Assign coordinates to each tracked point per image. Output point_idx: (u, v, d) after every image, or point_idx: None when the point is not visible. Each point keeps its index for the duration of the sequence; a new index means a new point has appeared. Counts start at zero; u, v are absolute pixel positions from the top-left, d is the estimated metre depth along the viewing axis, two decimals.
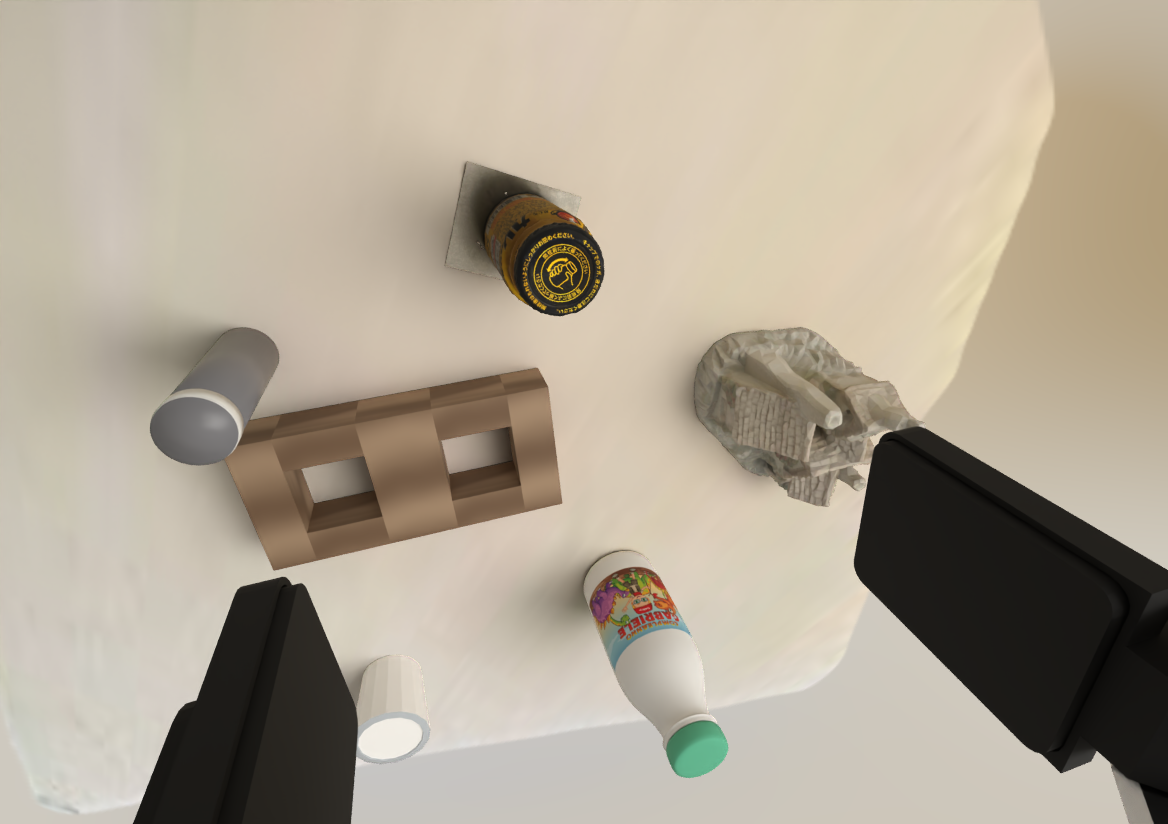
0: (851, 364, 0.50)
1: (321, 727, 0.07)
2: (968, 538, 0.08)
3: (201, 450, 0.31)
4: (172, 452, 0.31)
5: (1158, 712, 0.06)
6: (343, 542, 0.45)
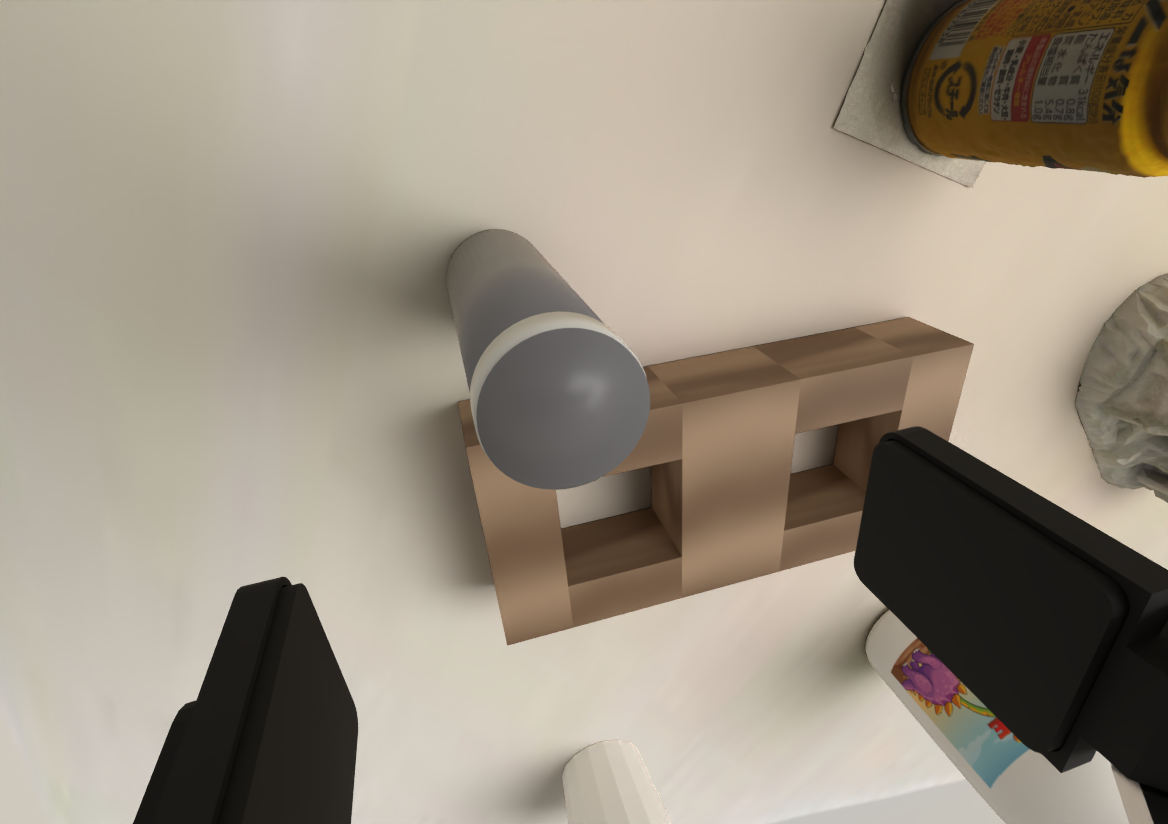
0: None
1: (321, 727, 0.07)
2: (968, 538, 0.08)
3: (568, 456, 0.14)
4: (510, 461, 0.13)
5: (1158, 711, 0.06)
6: (616, 598, 0.28)
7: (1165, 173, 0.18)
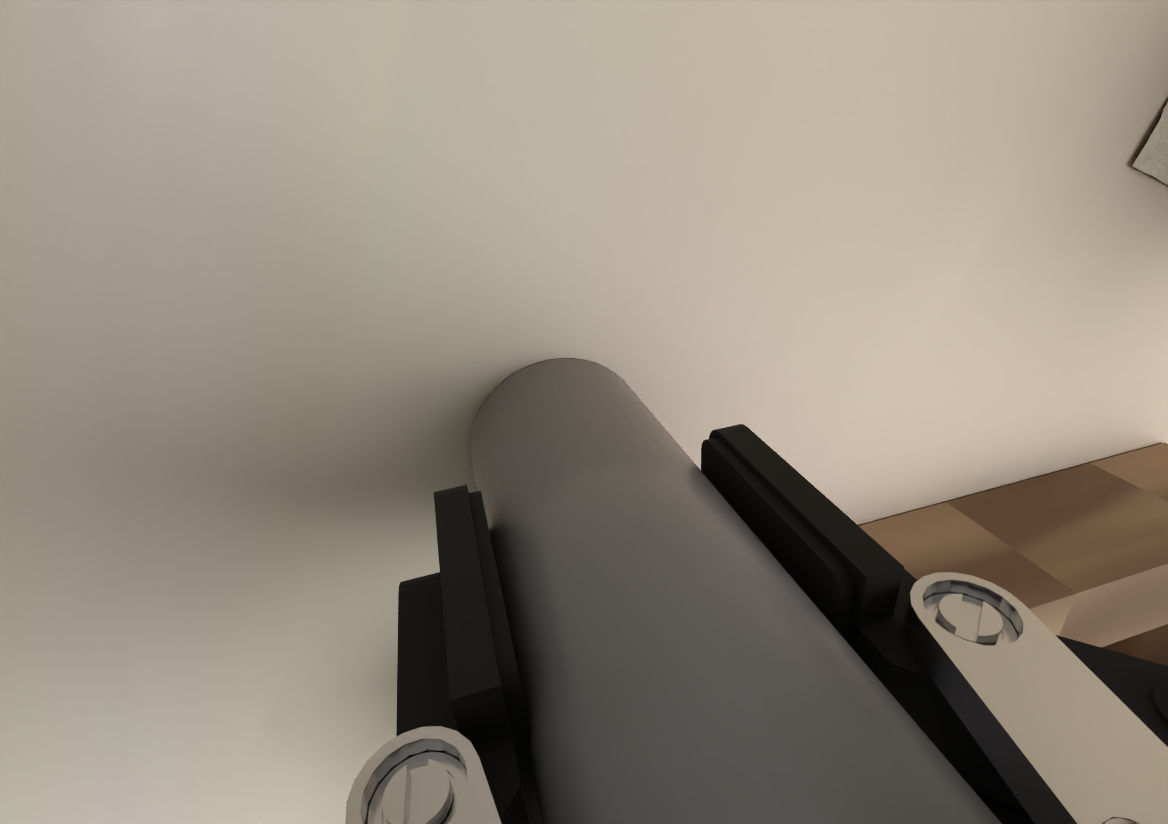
0: None
1: None
2: (759, 528, 0.09)
3: None
4: None
5: None
6: None
7: None
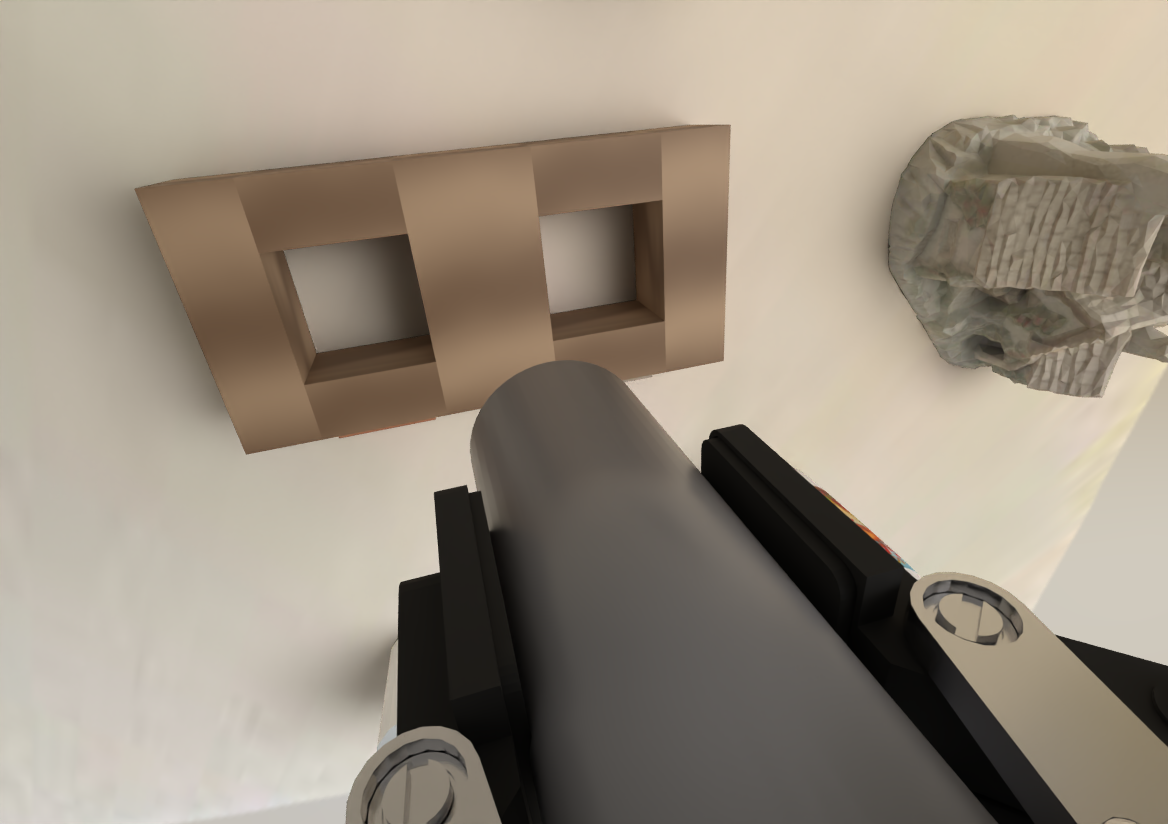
0: None
1: None
2: (759, 529, 0.09)
3: None
4: None
5: None
6: (367, 407, 0.26)
7: None
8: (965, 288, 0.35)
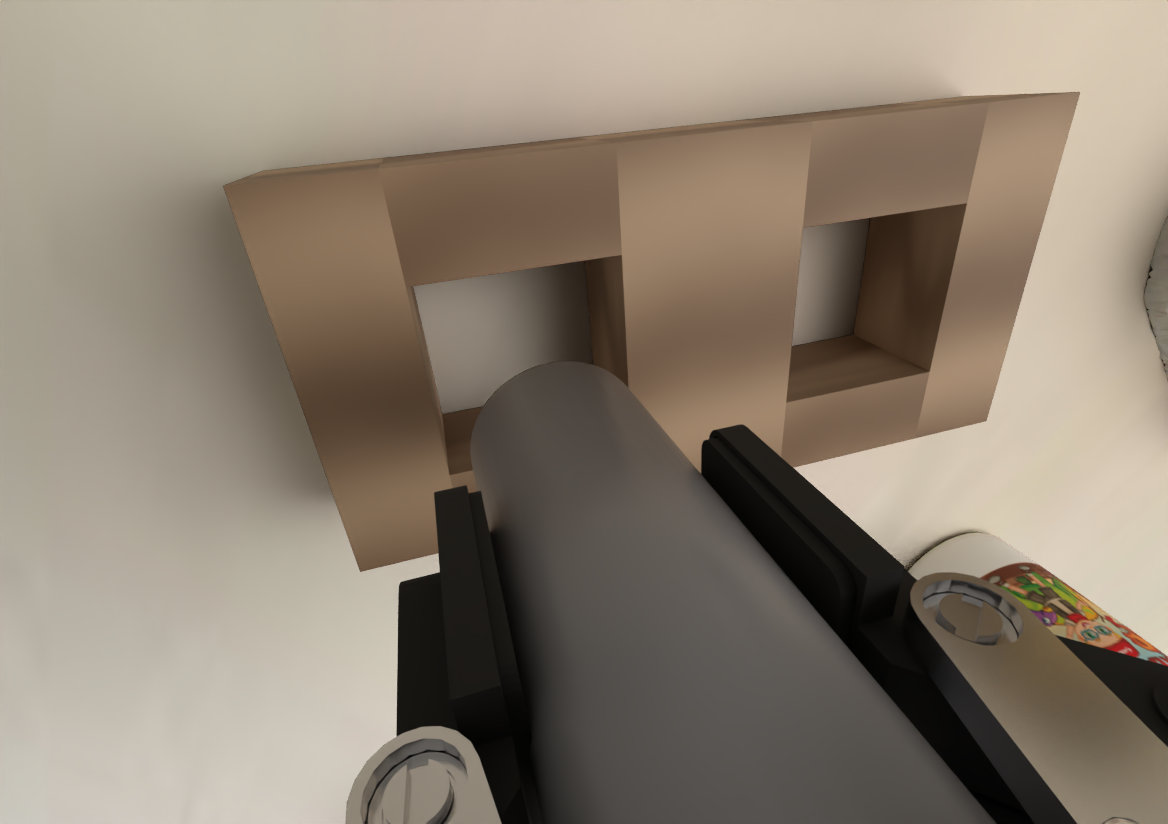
0: None
1: None
2: (759, 528, 0.09)
3: None
4: None
5: None
6: None
7: None
8: None
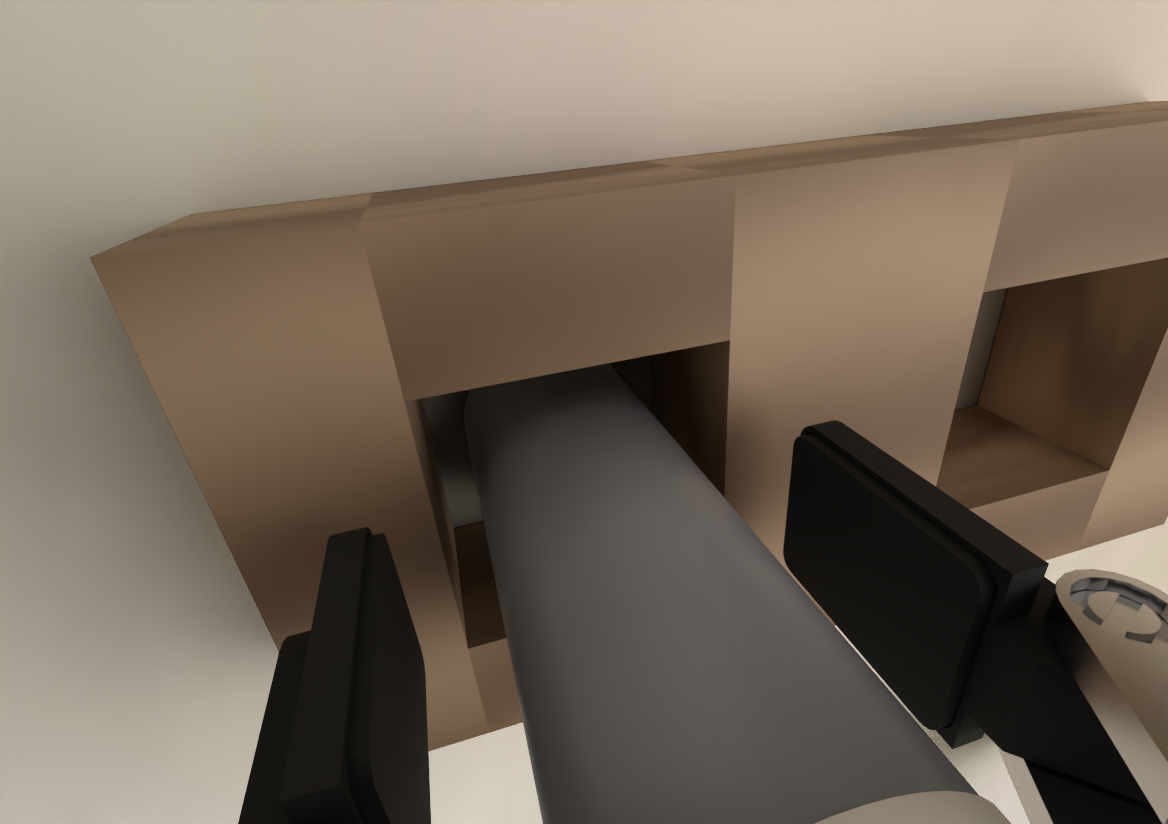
0: None
1: (405, 660, 0.08)
2: (869, 526, 0.08)
3: None
4: None
5: (1022, 686, 0.07)
6: None
7: None
8: None
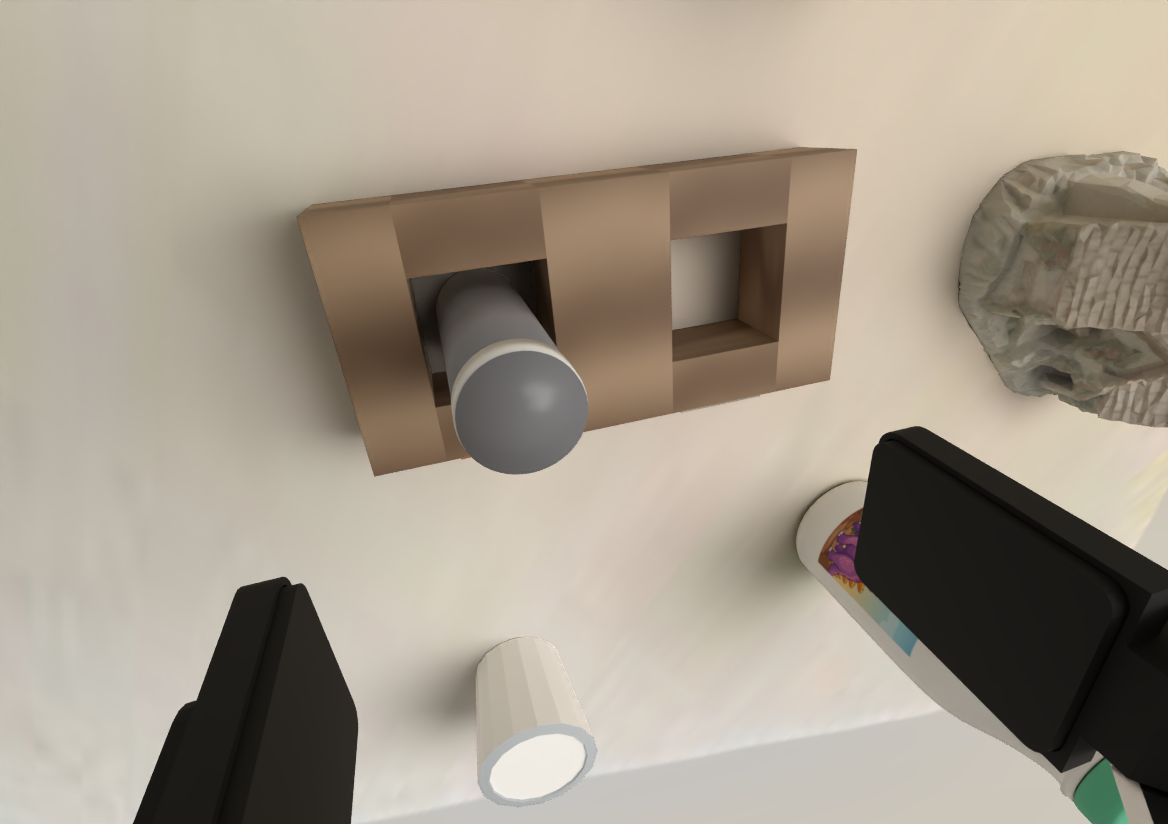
0: None
1: (321, 727, 0.07)
2: (968, 538, 0.08)
3: (526, 448, 0.18)
4: (481, 451, 0.17)
5: (1157, 712, 0.06)
6: None
7: None
8: None
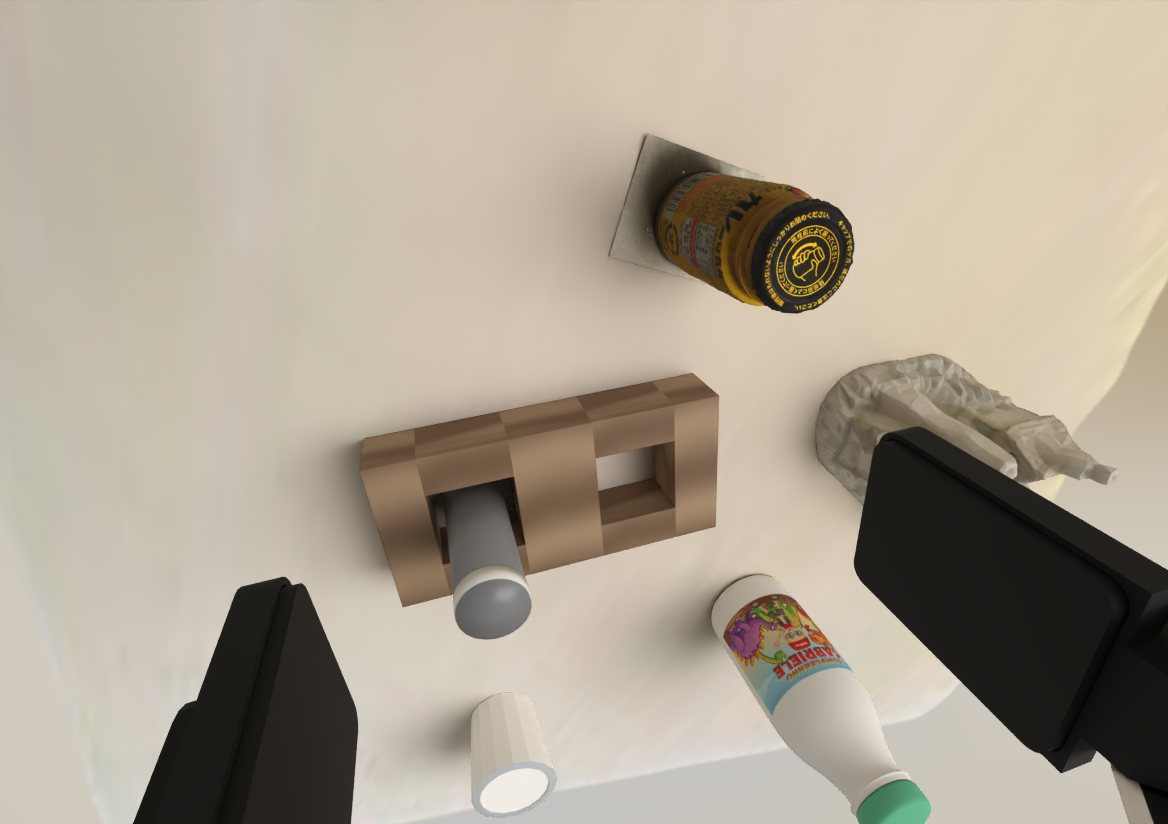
0: (998, 394, 0.45)
1: (321, 727, 0.07)
2: (968, 538, 0.08)
3: (496, 626, 0.31)
4: (470, 630, 0.31)
5: (1158, 712, 0.06)
6: None
7: None
8: None
